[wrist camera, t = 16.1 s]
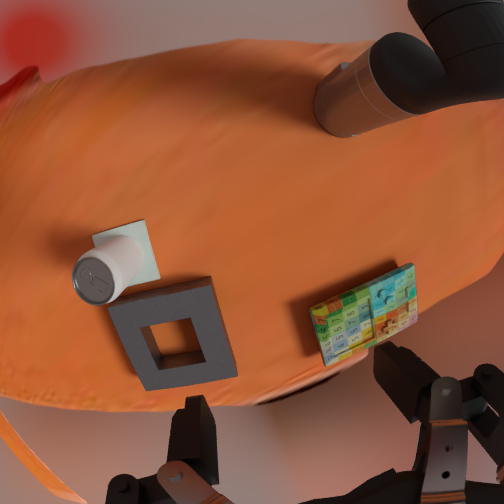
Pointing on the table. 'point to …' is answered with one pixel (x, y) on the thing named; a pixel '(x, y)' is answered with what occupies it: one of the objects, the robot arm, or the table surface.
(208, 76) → the table surface
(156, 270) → the mat
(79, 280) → the can
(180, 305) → the hollow block
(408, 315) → the puzzle game
